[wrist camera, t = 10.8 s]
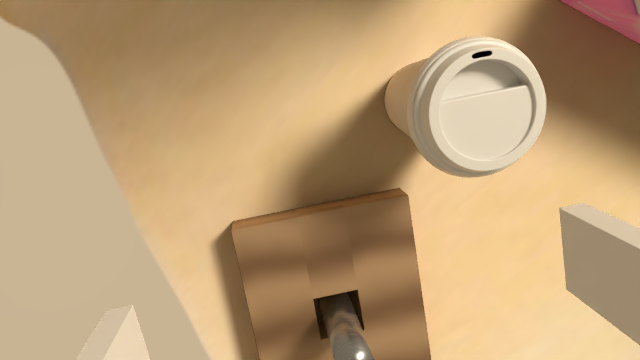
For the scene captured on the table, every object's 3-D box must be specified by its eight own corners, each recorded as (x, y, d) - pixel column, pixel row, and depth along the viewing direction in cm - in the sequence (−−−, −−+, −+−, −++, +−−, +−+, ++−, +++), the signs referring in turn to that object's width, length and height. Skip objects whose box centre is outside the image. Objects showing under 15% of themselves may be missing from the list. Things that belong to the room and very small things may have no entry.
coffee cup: (480, 57, 48) (577, 51, 33) (454, 158, 49) (535, 195, 35) (380, 35, 46) (436, 18, 32) (357, 139, 48) (400, 169, 33)
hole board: (232, 221, 48) (231, 230, 45) (399, 188, 49) (407, 195, 46) (274, 406, 53) (274, 426, 50) (425, 372, 54) (435, 389, 51)
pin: (316, 290, 51) (333, 355, 39) (346, 283, 51) (372, 346, 39) (322, 317, 51) (340, 390, 40) (351, 311, 51) (378, 380, 40)
